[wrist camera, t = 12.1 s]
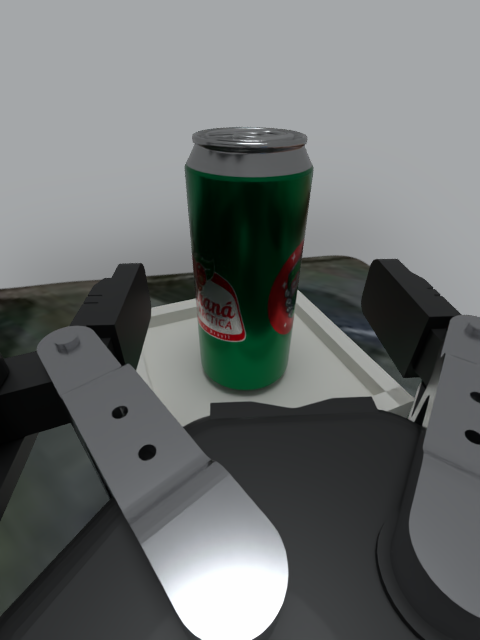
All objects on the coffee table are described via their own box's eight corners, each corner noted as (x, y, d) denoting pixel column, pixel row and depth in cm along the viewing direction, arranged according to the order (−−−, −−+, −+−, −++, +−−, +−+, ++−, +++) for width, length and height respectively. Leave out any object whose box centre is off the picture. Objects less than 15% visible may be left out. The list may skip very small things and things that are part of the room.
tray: (158, 522, 13) (152, 504, 12) (120, 333, 23) (115, 315, 22) (406, 418, 17) (415, 399, 16) (284, 295, 27) (286, 279, 26)
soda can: (188, 353, 20) (162, 129, 13) (257, 328, 22) (268, 123, 15) (226, 411, 17) (220, 149, 10) (304, 376, 19) (347, 138, 12)
